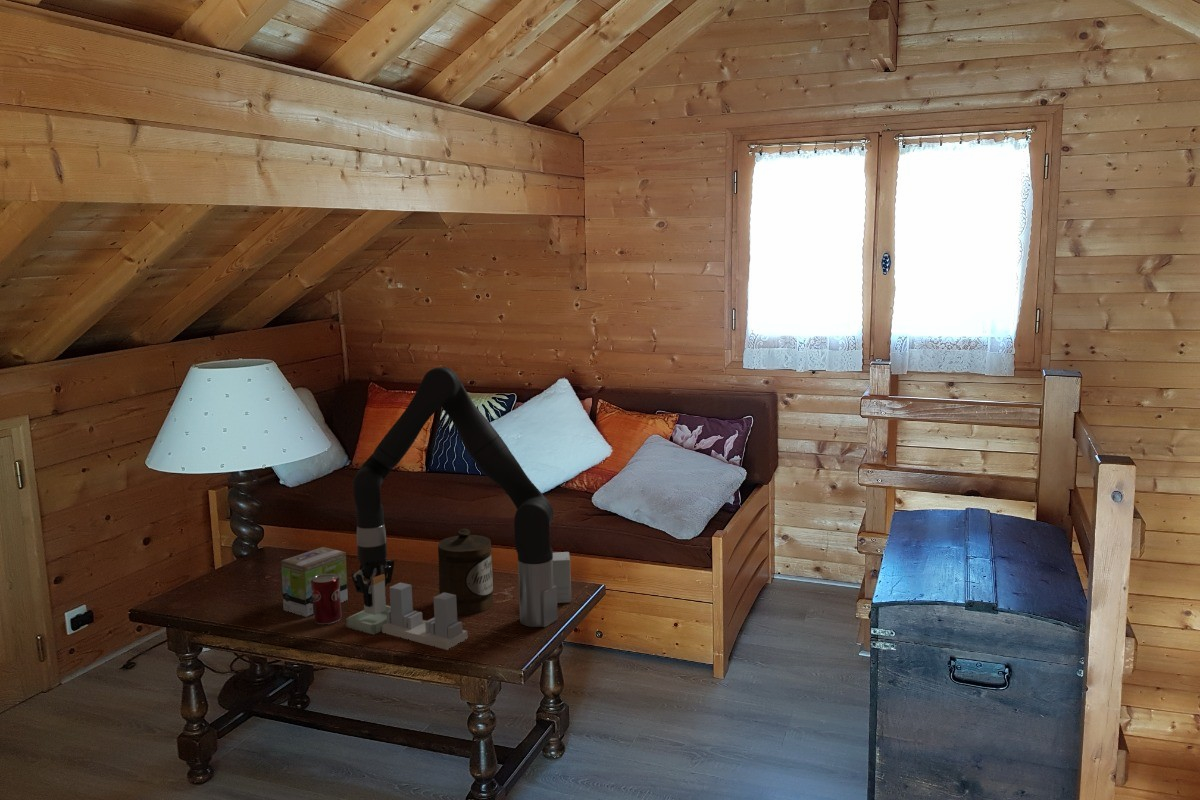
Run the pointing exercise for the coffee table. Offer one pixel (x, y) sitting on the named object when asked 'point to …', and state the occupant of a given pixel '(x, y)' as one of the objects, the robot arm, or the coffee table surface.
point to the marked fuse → (377, 596)
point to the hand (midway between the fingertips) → (375, 603)
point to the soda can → (326, 598)
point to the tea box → (310, 577)
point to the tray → (367, 621)
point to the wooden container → (466, 571)
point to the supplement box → (562, 576)
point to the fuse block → (411, 626)
